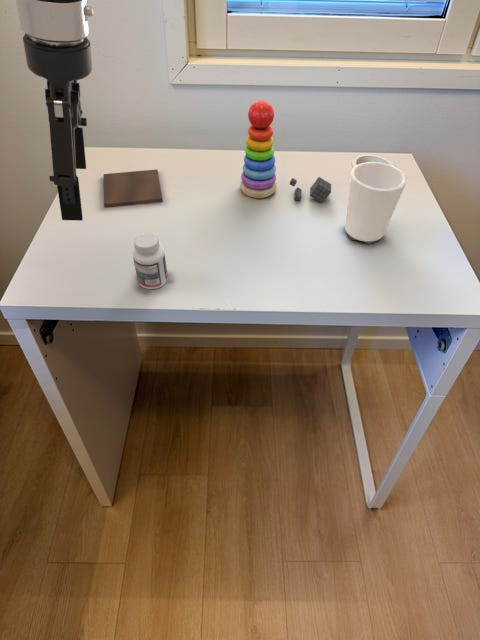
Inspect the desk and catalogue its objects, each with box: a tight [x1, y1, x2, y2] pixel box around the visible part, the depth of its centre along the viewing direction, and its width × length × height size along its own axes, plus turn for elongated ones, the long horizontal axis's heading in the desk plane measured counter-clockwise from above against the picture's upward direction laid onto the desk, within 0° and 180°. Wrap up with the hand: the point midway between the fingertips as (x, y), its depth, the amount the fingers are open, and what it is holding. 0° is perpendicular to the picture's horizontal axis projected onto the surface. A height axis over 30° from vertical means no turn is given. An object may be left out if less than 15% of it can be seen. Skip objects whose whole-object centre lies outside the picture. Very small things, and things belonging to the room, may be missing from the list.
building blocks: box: [289, 176, 332, 204], centre depth 99 cm, size 3×6×8 cm
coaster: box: [102, 168, 164, 208], centre depth 101 cm, size 12×12×1 cm
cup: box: [344, 161, 408, 245], centre depth 88 cm, size 10×10×13 cm
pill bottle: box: [132, 232, 169, 290], centre depth 79 cm, size 5×5×9 cm
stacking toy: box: [239, 100, 278, 199], centre depth 95 cm, size 8×8×19 cm
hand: (75, 191), depth 70 cm, fingers open, 13 cm apart
